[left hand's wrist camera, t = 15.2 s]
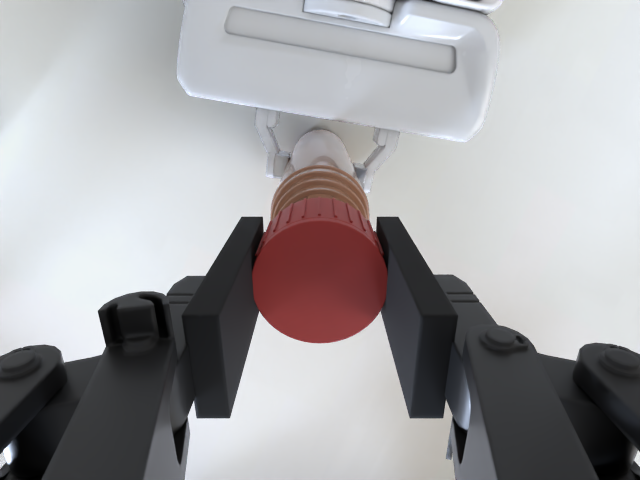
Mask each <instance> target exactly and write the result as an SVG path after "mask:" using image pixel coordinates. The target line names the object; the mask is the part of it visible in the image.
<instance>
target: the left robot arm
mask: <svg viewBox="0 0 640 480" xmlns="http://www.w3.org/2000/svg"><path fill="white" fill-rule="evenodd" d="M263 234H264V232H263V217H241V219H240V220H239V222H238V224H237V225H236V227H235V229H234V230H233V232H232V234H231V235H230V237H229V238H228V240H227V242H226V243H225V245H224V247H223V248H222V250H221V252H220V253H219V255H218V256H217V258H216V260H215V261H214V263H213V265H212V266H211V268H210V270H209V271H208V273H207V274H206V276H186V277H185V278H183V279H182V280H180V281H178V282H177V283H175V284H174V285H173V286H172V288H171V289H170V290H169V292H168V293H167V296H165V295H164V294H162V293H158V292H153V291H150V292H136V293H130V294H126V295H123V296H120V297H117V298H115V299H113V300H111V301H109V302H108V303H106V304H104V305H103V306H102V307H101V308H100V309H99V310H98V314H99V318H100V322H101V327H102V331H103V335H104V339H105V343H106V348H105V350H104V352H103V354H102V355H99V356H95V357H91V358H86V359H81V360H76V361H71V362H65V363H64V361H63V358H62V354H61V351H60V350H59V349H57V348H56V347H55V346H49V345H35V346H27V347H23V348H19V349H15V350H13V351H11V352H9V353H7V354H5V355H2V356H0V454H1V453H2V452H3V454H4V457H5V459H6V463H5V464H4V466H3V467H2V468H1V469H0V480H184V479H185V471H186V463H187V454H188V446H189V438H190V430H189V423H188V417H187V416H188V414H189V411H190V409H191V406H192V404H193V401H194V403H195V410H196V416H197V418H230V416H231V412H232V409H233V405H234V401H235V398H236V394H237V390H238V387H239V383H240V379H241V376H242V372H243V368H244V365H245V361H246V357H247V354H248V350H249V346H250V343H251V339H252V335H253V332H254V328H255V324H256V321H257V317H258V313H259V309H258V307H257V305H256V303H255V301H254V295H253V280H252V269H253V266H254V263H255V260H256V257H257V256H255V254H256V252H257V249H258V247H259V244H260V241H261V239H262V236H263ZM376 234H377V237H378V240H379V242H380V245H381V247H382V250H383V252H384V255H383V258H384V261H385V264H386V267H387V271H388V277H387V291H386V300H385V303H384V305H383V307H382V309H381V314H382V318H383V321H384V325H385V329H386V332H387V336H388V340H389V343H390V347H391V351H392V354H393V358H394V362H395V365H396V369H397V373H398V376H399V380H400V384H401V387H402V391H403V395H404V398H405V402H406V406H407V409H408V413H409V417H410V418H443V415H444V408H445V401H446V400H447V402H448V405H449V407H450V410H451V412H452V415H453V417H452V423H451V429H450V436H449V442H448V448H447V455H446V459H450V460H451V458H452V453H453V462H454V470H455V478H456V480H640V467H639V466H638V465H637V464H636V462H635V461H634V459H635V456H636V454H637V451H638V450H639V451H640V354H638V353H635V352H633V351H631V350H629V349H627V348H625V347H621V346H617V345H613V344H603V343H592V344H586V345H584V346H583V347H582V348H581V349H580V350H579V353H578V357H577V360H576V361H573V360H568V359H563V358H558V357H553V356H548V355H544V354H540V353H537V351H536V349H535V347H534V345H533V344H532V343H531V342H530V341H529V339H528V338H526V337H525V336H523V335H522V334H520V333H519V332H517V331H515V330H512V329H510V328H507V327H504V326H499V325H497V324H496V322H495V321H494V320H493V318H492V317H491V316H490V314H489V313H488V312H487V310H486V309H485V308H484V306H483V305H482V304H481V303H479V300H478V298H477V297H476V296H475V294H473V292H472V290H471V289H470V288H469V286H468V285H467V284H466V283H465V282H464V281H462V280H460V279H459V278H457V277H456V276H454V275H433V273H432V272H431V270H430V268H429V267H428V265H427V263H426V262H425V260H424V258H423V257H422V255H421V254H420V252H419V250H418V249H417V247H416V245H415V244H414V242H413V240H412V239H411V237H410V236H409V234H408V232H407V231H406V229H405V227H404V226H403V224H402V222H401V221H400V219H399V218H398V217H377V228H376Z"/></svg>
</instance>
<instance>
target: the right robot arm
mask: <svg viewBox="0 0 640 480" xmlns="http://www.w3.org/2000/svg"><path fill="white" fill-rule="evenodd" d="M182 1H183V4H184V6H185V11H184V16H183V21H182V27H181V33H180V40H179V49H178V59H177V78H178V81H179V82H180V84H181V85H182V87H183V88H184V90H185V91H186V93H187V94H188V95H190V96H194V97H200V98H205V99H211V100H217V101H223V102H229V103H235V104H241V105H247V106H252V107H257V108H256V118H255V127H256V129H257V131H258V134H259V136H260V138H261V140H262V143H263V145H264V147H265V150H266V152H268V160H267V169H266V177H271V178H278V179H281V178H282V176H283V173H284V171H285V169H286V166H287V164H288V162H289V159H290V154H291V152H285V151H280V149H279V146H278V144H277V141H276V138H275V136H274V133H273V131H272V128H274V127H275V126H276V125H278V123H279V115H280V111H282V112H288V113H294V114H300V115H305V116H311V117H317V118H323V119H329V120H335V121H341V122H347V123H353V124H358V125H364V126H370V127H375V132H374V137H373V140H374V142H375V143H376V144H377V145H378V147H377V148H376V149H375V150H374V151H373V153H372V154H371V155H370V156H369V157H368V159H367V160H366V161H365V162H364V164H359V163H353V167H354V169H355V171H356V173H357V176H358V178H359V180H360V183H361V185H362V187H363V190H364V192H365V193H369V192H370V190H371V186H372V181H373V177H374V172H375V170H377V169H378V168H379V167H380V166H381V165H382V164H383V163H384V162H385V160H386V159H387V158H388V157H389V156H390V155H391V154H392V153H393V151H394V150H395V149H396V146H397V142H398V138H399V133H400V132H405V133H411V134H417V135H423V136H429V137H435V138H441V139H447V140H453V141H459V142H467V141H469V140H470V139H471V138H472V137H474V136H475V135H476V134H477V133H478V132H479V131H480V130H481V129H482V127H483V125H484V122H485V119H486V116H487V112H488V109H489V105H490V101H491V97H492V93H493V88H494V84H495V79H496V73H497V67H498V61H499V55H500V38H499V33H498V29H497V27H496V25H495V24H494V22H493V21H492V20H491V19H490V18H489V17H488V16H486V15H488V14H490V13H491V12H493V11H494V10H496V9H497V8H498V7H499V6H500V5H501V4H502V3H503V1H504V0H182ZM271 127H272V128H271Z"/></svg>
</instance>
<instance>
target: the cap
mask: <svg viewBox="0 0 640 480" xmlns="http://www.w3.org/2000/svg"><path fill="white" fill-rule="evenodd" d="M383 255H384V252H383V250H382V247H381V245H380V242H379V240H378V237H377V234H376V232H375V231H374V232H373V229H372V226H371V224H370V221H369V220H366V218H365V217H364V216H363V215H362V214H361V212H360V211H359V210H358V211H357V210H356V209H355V208H353V207H352V206H350V205H349V203H344V202H341V201H338V200H335V198H333V199H330V198H321V197H318V198H310V199H306V198H305V199H304V200H301V201H298V202H296V203H294V204H293V203H291V204H290V206H288V207H287V208H285V209H284V210H282V211H281V210H280V211H279V213H278V215H277V216H276V217H275V218H274V219H273V221H270V223H269V225H268V228H267V231H266V232H264V234H263V236H262V239H261V241H260V244H259V247H258V249H257V252H256V254H255V256H257V257H256V260H255V263H254V266H253V269H252V280H253V295H254V301H255V303H256V305H257V307H258V309H259V311H260V312H261V314H262V316H263V317H264V318H265V319H266V320H267V322H268V323H270V324H271V325H272V326H273V327H274V328H275V329H277V330H278V331H280V332H281V333H283V334H285V335H287V336H289V337H291V338H294V339H296V340H300V341H304V342H310V343H330V342H336V341H340V340H343V339H346V338H349V337H351V336H353V335H355V334H357V333H359V332H360V331H362V330H363V329H364V328H366V327H367V326H368V325H369V324H370V323H371V322H372V321H373V320H374V319H375V318H376V317H377V315H378V314H379V312H380V311H381V309H382V307H383V305H384V303H385V300H386V291H387V277H388V271H387V267H386V264H385V261H384V258H383Z"/></svg>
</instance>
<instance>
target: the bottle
mask: <svg viewBox="0 0 640 480" xmlns="http://www.w3.org/2000/svg"><path fill="white" fill-rule="evenodd" d="M318 197H321V198H330V199H333V198H335V200H338V201H341V202H344V203H349V205H350V206H352V207H353V208H355V209H356V210H357V211H358V210H359V211H360V212H361V214H362V215H363V216H364V217H365V218H366V220H369V205H368V200H367V197H366V194H365V192H364V190H363V187H362V185H361V183H360V180H359V178H358V176H357V173H356V171H355V169H354V167H353V164H352V162H351V160H350V157H349V155H348V153H347V150H346V148H345V146H344V143H343V142H342V140H341V139H340V138H339V137H338V136H337V135H336V134H334V133H332V132H330V131H327V130H321V129H319V130H313V131H310V132H308V133H306V134H304V135H303V136H302V137H301V138H300V139H299V140H298V142H297V144H296V146H295V148H294V150H293V152H292V155H291V157H290V159H289V162H288V164H287V166H286V169H285V171H284V173H283V176H282V178H281V180H280V182H279V185H278V187H277V189H276V192H275V194H274V197H273V200H272V204H271V221H273V219H274V218H275V217H276V216H277V215H278V213H279V211H280V210H281V211H282V210H284V209H285V208H287V207H288V206H290V204H291V203H293V204H294V203H296V202H298V201H301V200H304V199H305V198H306V199H310V198H318Z"/></svg>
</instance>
